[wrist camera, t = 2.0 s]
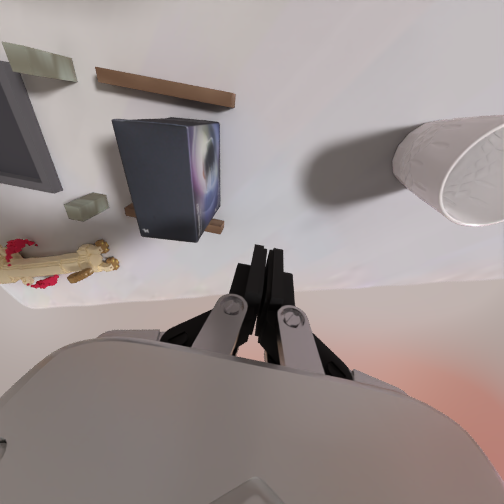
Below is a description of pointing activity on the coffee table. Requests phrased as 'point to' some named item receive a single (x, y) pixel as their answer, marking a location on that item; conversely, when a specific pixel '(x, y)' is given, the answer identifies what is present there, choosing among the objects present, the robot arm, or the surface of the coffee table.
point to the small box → (171, 174)
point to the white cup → (456, 168)
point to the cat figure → (52, 264)
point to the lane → (63, 69)
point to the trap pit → (22, 138)
